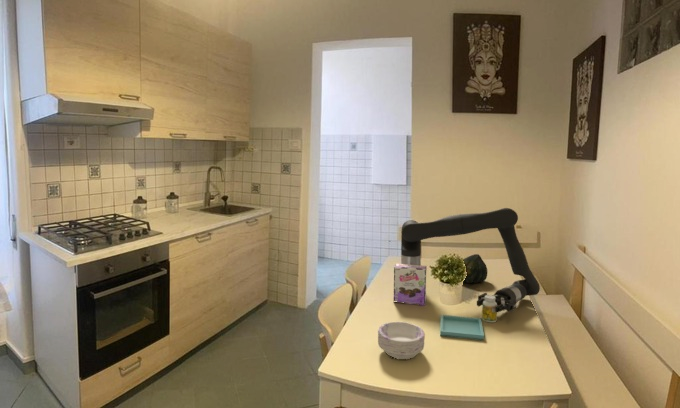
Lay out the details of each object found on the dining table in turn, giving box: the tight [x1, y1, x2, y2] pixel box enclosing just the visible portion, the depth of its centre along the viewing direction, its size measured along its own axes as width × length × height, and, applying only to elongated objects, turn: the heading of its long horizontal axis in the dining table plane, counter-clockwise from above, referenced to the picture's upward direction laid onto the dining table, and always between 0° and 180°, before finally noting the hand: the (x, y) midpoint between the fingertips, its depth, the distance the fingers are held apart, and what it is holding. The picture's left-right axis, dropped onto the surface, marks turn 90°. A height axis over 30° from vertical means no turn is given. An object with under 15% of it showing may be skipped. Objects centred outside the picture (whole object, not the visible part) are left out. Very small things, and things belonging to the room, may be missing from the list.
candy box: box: [393, 263, 428, 306], centre depth 179 cm, size 14×6×16 cm, turn 74°
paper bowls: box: [377, 320, 426, 360], centre depth 135 cm, size 15×15×8 cm
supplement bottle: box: [481, 294, 498, 323], centre depth 160 cm, size 5×5×10 cm
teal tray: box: [439, 314, 485, 341], centre depth 153 cm, size 15×15×2 cm
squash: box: [462, 253, 488, 284], centre depth 205 cm, size 14×15×15 cm
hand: (486, 306), depth 159 cm, fingers open, 7 cm apart
